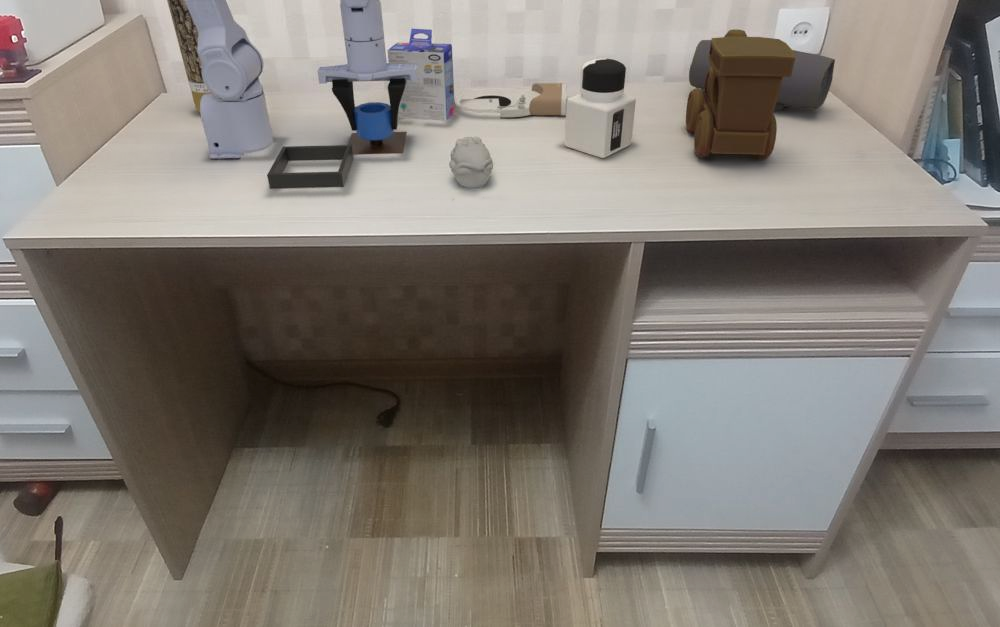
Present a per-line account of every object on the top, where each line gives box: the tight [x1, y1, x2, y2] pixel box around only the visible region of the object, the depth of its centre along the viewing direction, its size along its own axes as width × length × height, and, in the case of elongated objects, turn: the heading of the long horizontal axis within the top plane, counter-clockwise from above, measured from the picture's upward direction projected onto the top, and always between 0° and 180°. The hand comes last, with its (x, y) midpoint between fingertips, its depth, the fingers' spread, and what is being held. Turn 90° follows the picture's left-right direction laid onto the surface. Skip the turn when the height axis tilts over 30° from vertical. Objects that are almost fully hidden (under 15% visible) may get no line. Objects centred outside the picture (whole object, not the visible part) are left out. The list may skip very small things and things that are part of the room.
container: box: [564, 58, 637, 159], centre depth 108 cm, size 8×8×13 cm
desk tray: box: [266, 144, 354, 190], centre depth 102 cm, size 10×10×3 cm
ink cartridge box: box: [387, 28, 456, 121], centre depth 118 cm, size 10×6×14 cm, turn 78°
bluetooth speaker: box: [688, 39, 836, 111], centre depth 124 cm, size 23×9×10 cm, turn 55°
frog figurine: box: [448, 136, 494, 189], centre depth 98 cm, size 6×7×7 cm
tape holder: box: [347, 112, 408, 156], centre depth 110 cm, size 9×9×6 cm
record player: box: [454, 82, 567, 118], centre depth 126 cm, size 12×3×20 cm
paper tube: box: [166, 0, 212, 114], centre depth 120 cm, size 7×7×25 cm
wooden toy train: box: [685, 29, 795, 160], centre depth 106 cm, size 20×11×17 cm, turn 175°
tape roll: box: [354, 101, 395, 140], centre depth 109 cm, size 6×6×4 cm
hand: (374, 127), depth 109 cm, fingers closed on tape roll, 5 cm apart
